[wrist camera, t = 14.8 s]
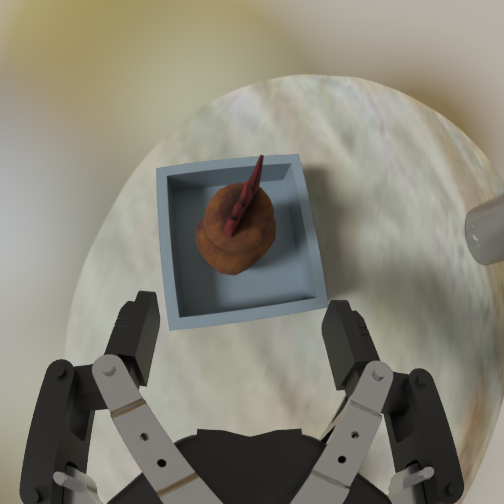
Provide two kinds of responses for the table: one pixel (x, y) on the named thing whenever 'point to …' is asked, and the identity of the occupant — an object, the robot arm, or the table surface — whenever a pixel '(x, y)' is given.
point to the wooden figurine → (237, 225)
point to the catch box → (259, 274)
